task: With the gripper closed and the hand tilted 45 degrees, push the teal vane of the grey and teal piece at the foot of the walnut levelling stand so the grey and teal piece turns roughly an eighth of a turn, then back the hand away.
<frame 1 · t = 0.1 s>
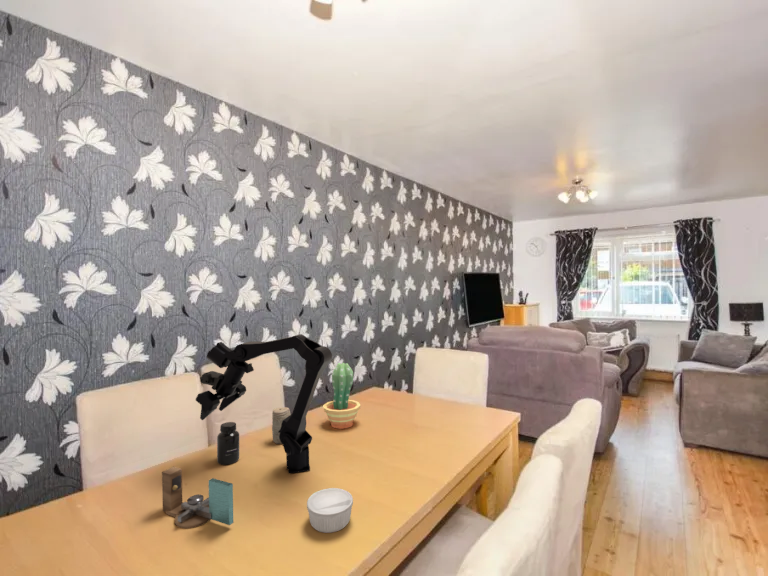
hand: (211, 414, 128), 15 cm above the table, tool tilted 35°, fingers open, 9 cm apart
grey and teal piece: (206, 496, 94), point 6 cm above the table, hinge at 0.0°
stand: (195, 516, 96), on the table
ramekin: (330, 522, 93), on the table
supplement bottle: (228, 461, 126), on the table
beige piece: (281, 441, 141), on the table
potted cactus: (342, 424, 157), on the table
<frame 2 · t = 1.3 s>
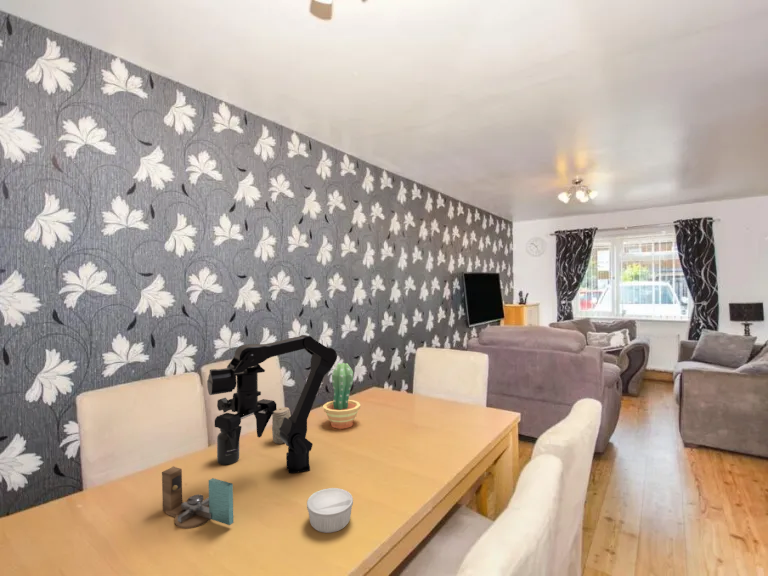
hand: (247, 442, 111), 12 cm above the table, tool pointing down, fingers open, 9 cm apart
nothing on the table moved.
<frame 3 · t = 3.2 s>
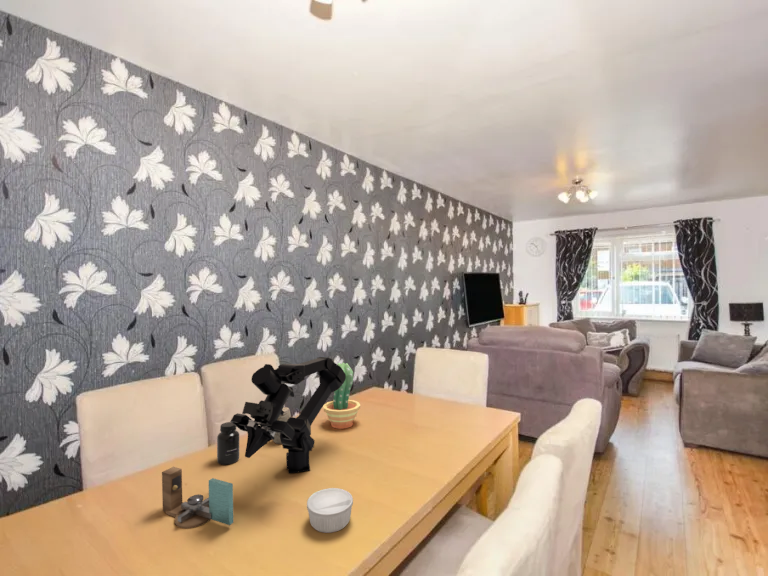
hand: (246, 457, 101), 12 cm above the table, tool tilted 45°, fingers closed
nothing on the table moved.
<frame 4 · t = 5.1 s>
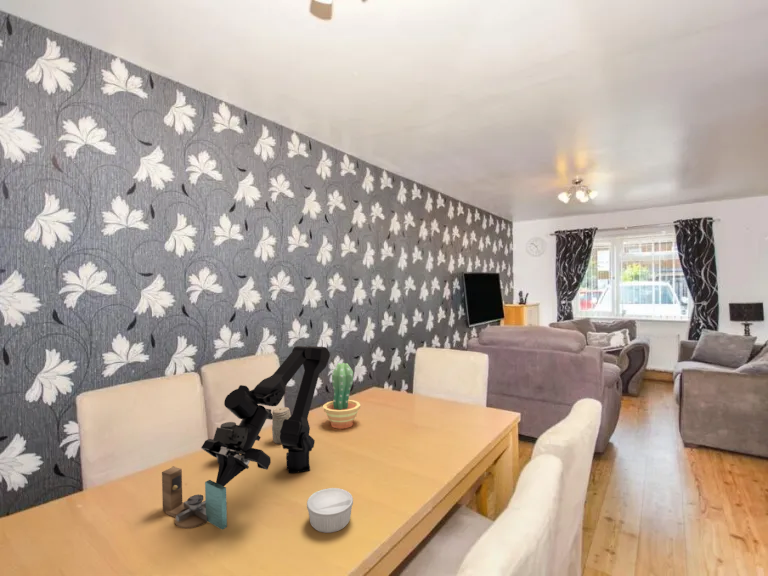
hand: (217, 489, 92), 9 cm above the table, tool tilted 45°, fingers closed, pressing on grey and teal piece
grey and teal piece: (203, 497, 94), point 6 cm above the table, hinge at 9.2°, touching gripper
everything else where it was.
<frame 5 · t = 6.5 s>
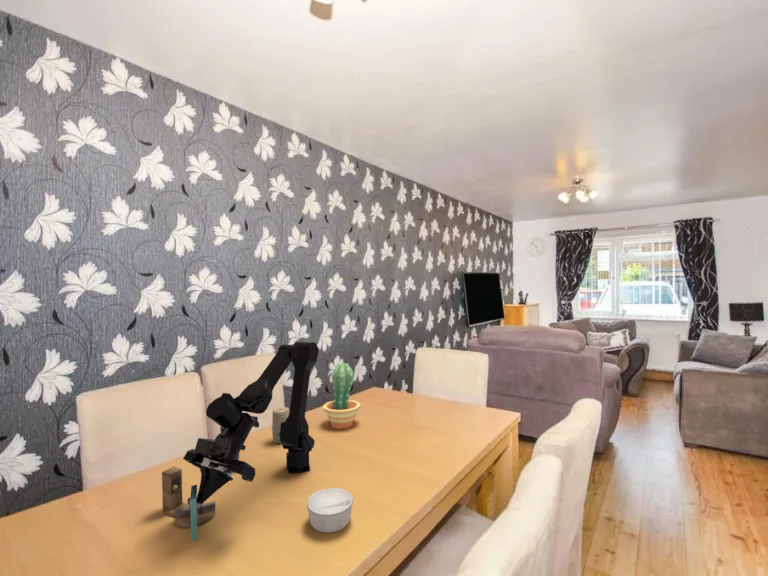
hand: (198, 503, 87), 8 cm above the table, tool tilted 45°, fingers closed
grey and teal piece: (194, 501, 92), point 6 cm above the table, hinge at 40.8°, touching gripper
everything else where it was.
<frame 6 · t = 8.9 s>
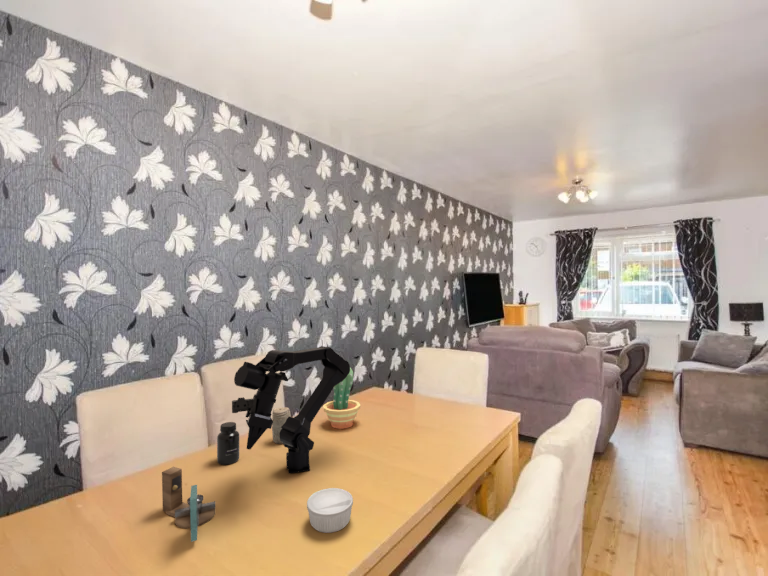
hand: (248, 449, 107), 12 cm above the table, tool tilted 25°, fingers closed
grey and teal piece: (194, 501, 92), point 6 cm above the table, hinge at 40.9°
everything else where it was.
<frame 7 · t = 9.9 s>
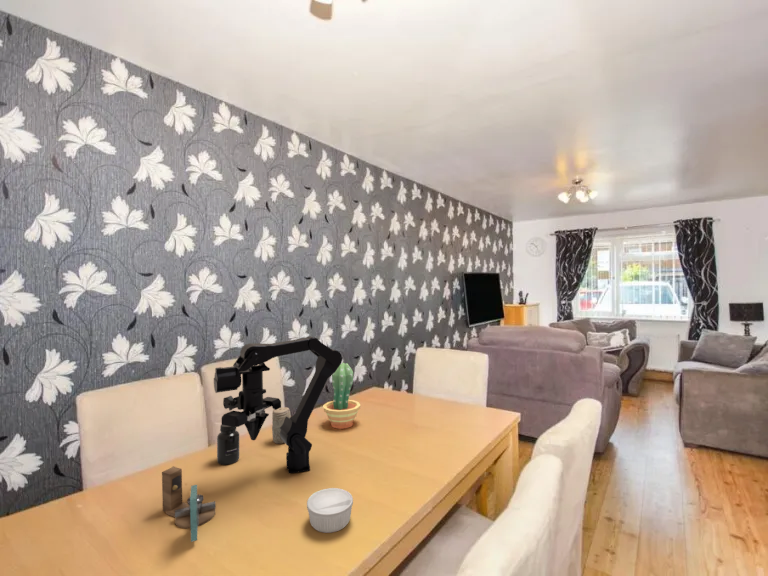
hand: (253, 439, 113), 12 cm above the table, tool pointing down, fingers closed
nothing on the table moved.
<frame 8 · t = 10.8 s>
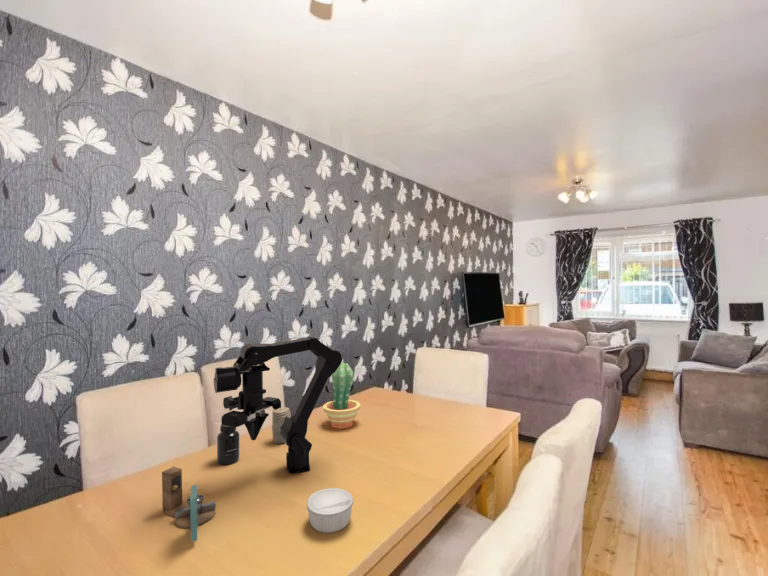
hand: (253, 439, 113), 12 cm above the table, tool pointing down, fingers closed
nothing on the table moved.
at the end: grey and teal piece at +41° (first picture: +0°); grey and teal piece touching nothing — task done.
